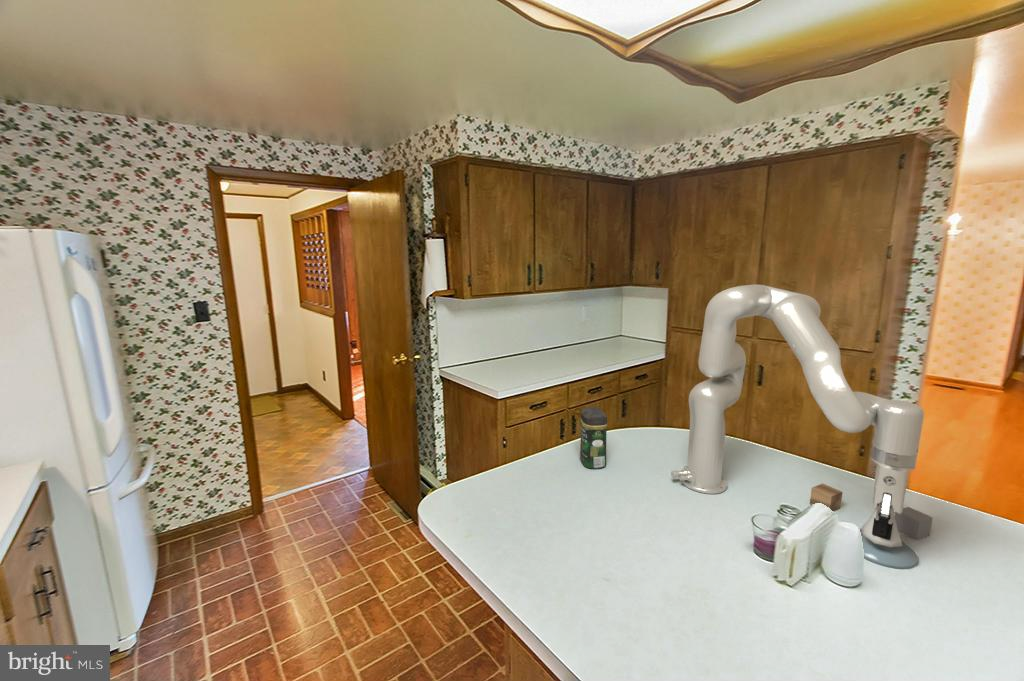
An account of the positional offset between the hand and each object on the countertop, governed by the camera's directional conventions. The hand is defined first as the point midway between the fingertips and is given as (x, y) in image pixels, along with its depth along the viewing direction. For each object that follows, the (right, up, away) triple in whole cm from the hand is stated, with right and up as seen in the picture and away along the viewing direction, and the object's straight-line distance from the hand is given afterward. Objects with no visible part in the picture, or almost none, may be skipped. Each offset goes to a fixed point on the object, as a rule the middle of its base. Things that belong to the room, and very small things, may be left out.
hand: (881, 530), depth 101 cm
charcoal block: (+13, -4, +7) cm, 15 cm away
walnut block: (0, -2, +19) cm, 19 cm away
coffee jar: (-58, +3, +45) cm, 73 cm away
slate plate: (0, -5, +1) cm, 5 cm away
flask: (0, -2, 0) cm, 2 cm away
